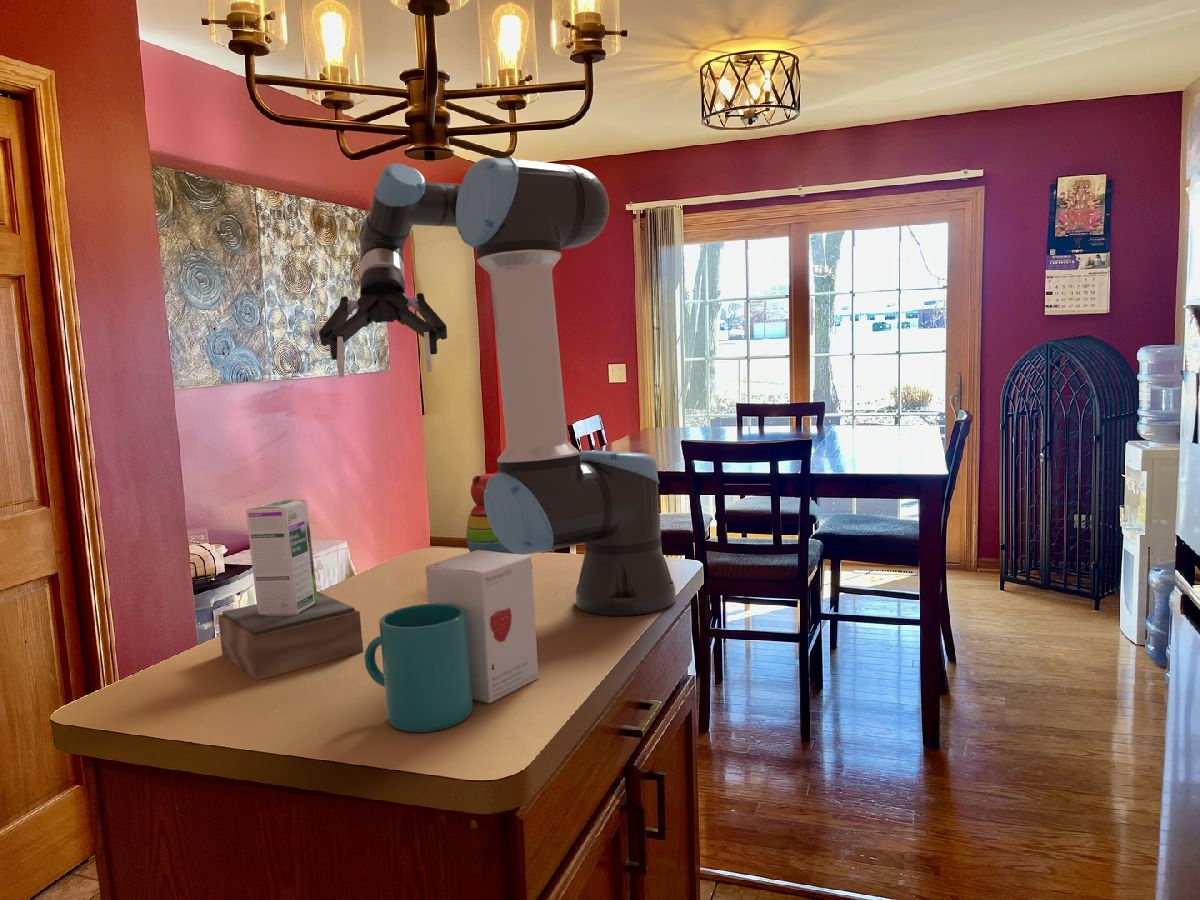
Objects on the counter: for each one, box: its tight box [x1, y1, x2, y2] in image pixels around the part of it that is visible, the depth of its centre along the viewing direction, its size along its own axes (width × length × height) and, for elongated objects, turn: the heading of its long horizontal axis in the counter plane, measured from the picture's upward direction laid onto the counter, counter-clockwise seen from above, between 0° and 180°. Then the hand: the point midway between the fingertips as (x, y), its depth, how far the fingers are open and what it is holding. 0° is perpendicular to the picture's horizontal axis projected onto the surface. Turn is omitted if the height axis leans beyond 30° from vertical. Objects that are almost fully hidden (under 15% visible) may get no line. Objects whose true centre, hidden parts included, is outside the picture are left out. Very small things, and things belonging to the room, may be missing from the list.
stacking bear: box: [465, 471, 516, 554], centre depth 156 cm, size 11×10×18 cm
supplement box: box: [425, 550, 539, 704], centre depth 101 cm, size 9×9×15 cm
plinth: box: [217, 591, 364, 681], centre depth 117 cm, size 14×14×6 cm
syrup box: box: [245, 499, 318, 616], centre depth 116 cm, size 6×6×14 cm
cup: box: [364, 603, 474, 733], centre depth 94 cm, size 9×12×11 cm
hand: (385, 368), depth 138 cm, fingers open, 13 cm apart
